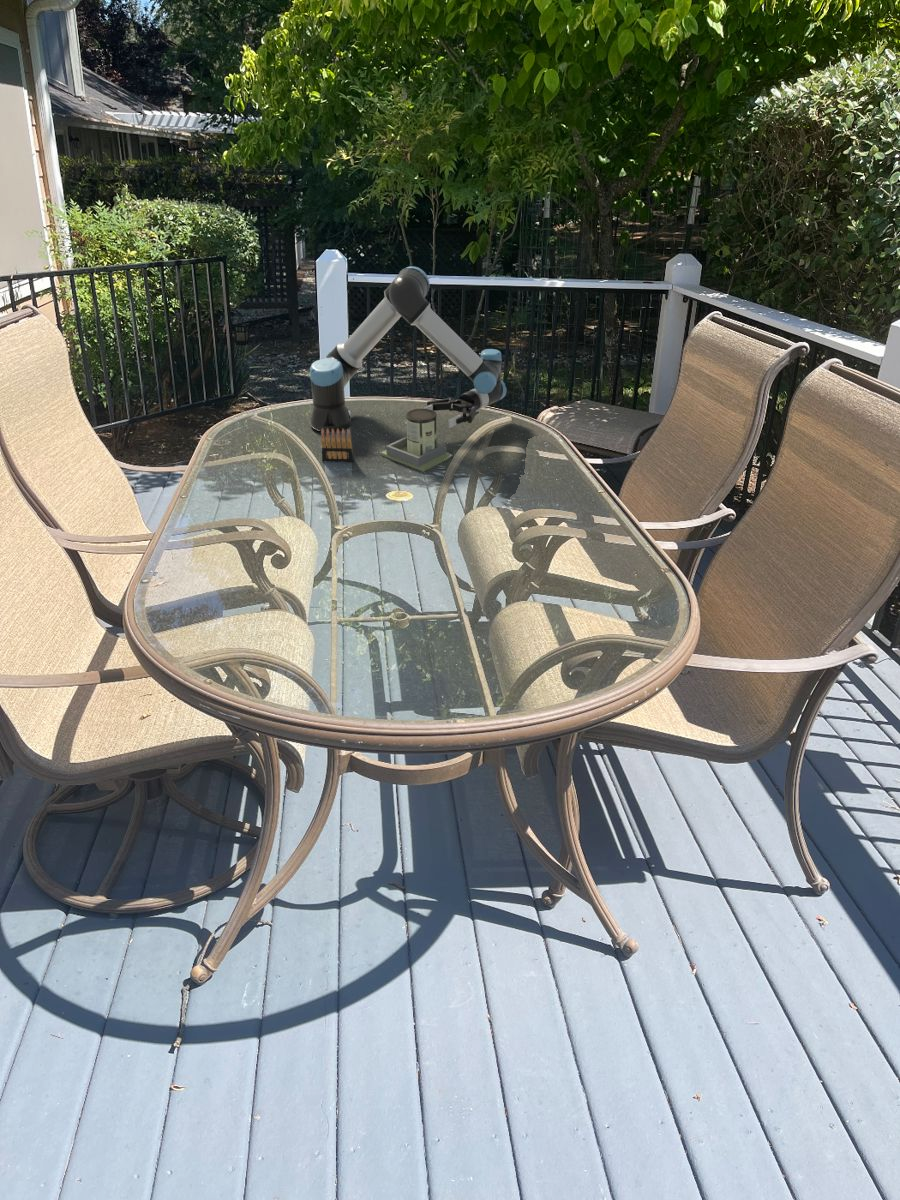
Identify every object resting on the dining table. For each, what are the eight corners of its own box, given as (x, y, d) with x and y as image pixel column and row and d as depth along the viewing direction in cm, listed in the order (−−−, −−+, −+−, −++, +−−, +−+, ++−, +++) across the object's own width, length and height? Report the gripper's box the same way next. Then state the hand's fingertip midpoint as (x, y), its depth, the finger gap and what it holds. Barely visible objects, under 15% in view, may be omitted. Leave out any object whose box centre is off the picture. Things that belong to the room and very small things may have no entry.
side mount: (380, 455, 305) (379, 444, 303) (410, 441, 314) (409, 430, 312) (423, 471, 294) (422, 460, 292) (452, 456, 304) (452, 446, 301)
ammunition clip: (322, 461, 301) (319, 429, 294) (323, 459, 303) (320, 426, 296) (353, 462, 301) (350, 429, 294) (354, 460, 302) (351, 427, 295)
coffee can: (417, 444, 310) (417, 406, 302) (442, 450, 305) (442, 412, 297) (401, 454, 303) (399, 415, 295) (426, 461, 298) (425, 422, 290)
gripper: (500, 419, 312) (461, 438, 299) (447, 402, 326) (408, 419, 313) (500, 399, 308) (461, 418, 295) (447, 382, 322) (407, 399, 309)
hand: (433, 418), depth 304 cm, fingers open, 13 cm apart
